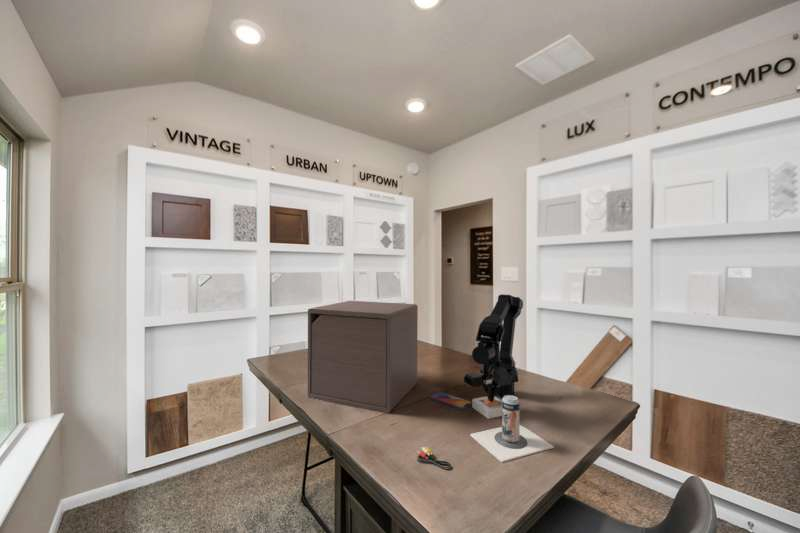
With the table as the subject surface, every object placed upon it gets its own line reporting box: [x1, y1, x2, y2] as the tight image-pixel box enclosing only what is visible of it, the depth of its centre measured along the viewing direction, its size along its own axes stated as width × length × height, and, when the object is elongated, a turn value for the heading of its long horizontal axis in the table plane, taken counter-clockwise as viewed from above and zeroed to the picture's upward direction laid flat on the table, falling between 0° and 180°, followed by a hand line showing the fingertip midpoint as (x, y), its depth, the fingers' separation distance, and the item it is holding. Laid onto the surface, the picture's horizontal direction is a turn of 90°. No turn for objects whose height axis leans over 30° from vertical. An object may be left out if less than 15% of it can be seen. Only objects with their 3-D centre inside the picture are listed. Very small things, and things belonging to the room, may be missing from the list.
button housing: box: [471, 396, 502, 420], centre depth 111 cm, size 9×9×3 cm
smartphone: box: [429, 391, 472, 411], centre depth 119 cm, size 7×15×1 cm, turn 46°
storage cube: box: [306, 300, 419, 414], centre depth 128 cm, size 34×29×34 cm
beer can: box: [501, 395, 520, 443], centre depth 92 cm, size 5×5×12 cm
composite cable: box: [415, 445, 452, 471], centre depth 82 cm, size 10×5×2 cm, turn 44°
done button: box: [483, 398, 498, 407], centre depth 111 cm, size 5×5×2 cm
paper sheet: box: [469, 423, 555, 463], centre depth 92 cm, size 18×14×1 cm
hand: (490, 401), depth 111 cm, fingers closed, pressing on done button
